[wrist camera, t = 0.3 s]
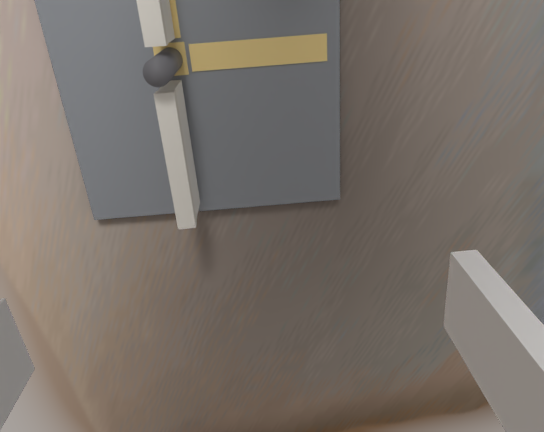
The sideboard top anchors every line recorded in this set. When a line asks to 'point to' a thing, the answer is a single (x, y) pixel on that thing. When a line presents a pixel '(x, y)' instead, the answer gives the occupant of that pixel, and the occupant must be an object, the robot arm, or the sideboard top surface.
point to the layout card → (202, 101)
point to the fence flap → (178, 152)
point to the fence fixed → (158, 41)
